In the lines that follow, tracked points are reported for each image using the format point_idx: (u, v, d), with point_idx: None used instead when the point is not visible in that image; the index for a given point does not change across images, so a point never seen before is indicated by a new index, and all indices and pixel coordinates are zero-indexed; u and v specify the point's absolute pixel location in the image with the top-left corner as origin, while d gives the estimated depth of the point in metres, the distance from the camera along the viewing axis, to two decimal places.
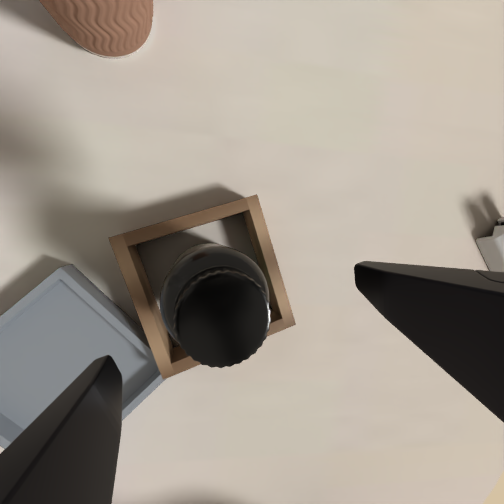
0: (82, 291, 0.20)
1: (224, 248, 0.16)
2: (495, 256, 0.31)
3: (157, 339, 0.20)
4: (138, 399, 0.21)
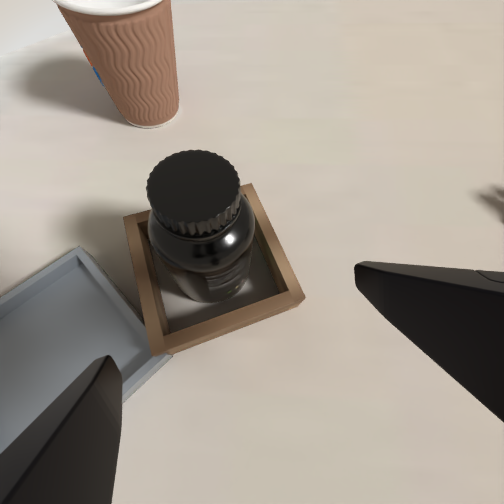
0: (92, 266, 0.21)
1: None
2: None
3: (152, 307, 0.19)
4: None
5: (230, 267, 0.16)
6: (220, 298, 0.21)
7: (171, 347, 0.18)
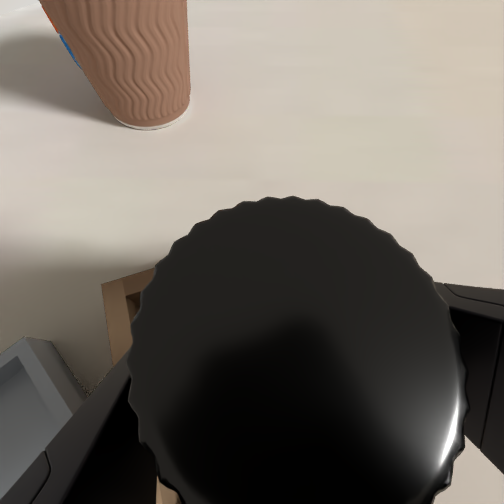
0: (43, 379, 0.12)
1: None
2: None
3: None
4: None
5: None
6: None
7: None
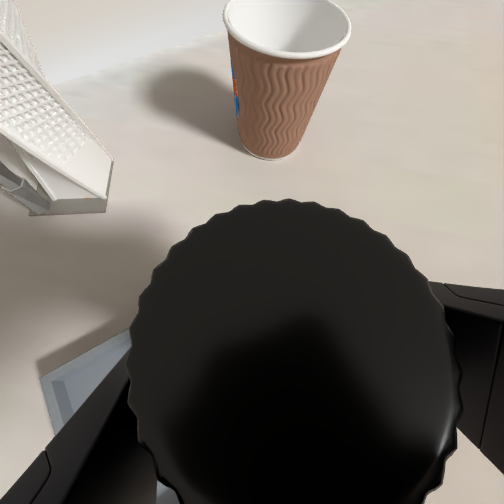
0: None
1: None
2: None
3: None
4: None
5: None
6: None
7: None
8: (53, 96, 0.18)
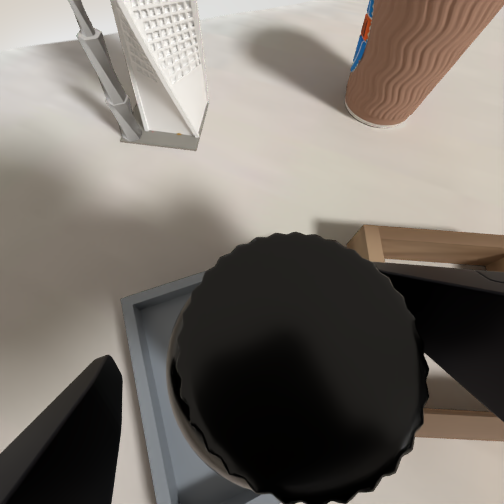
0: None
1: None
2: None
3: None
4: None
5: None
6: None
7: (424, 435, 0.12)
8: None
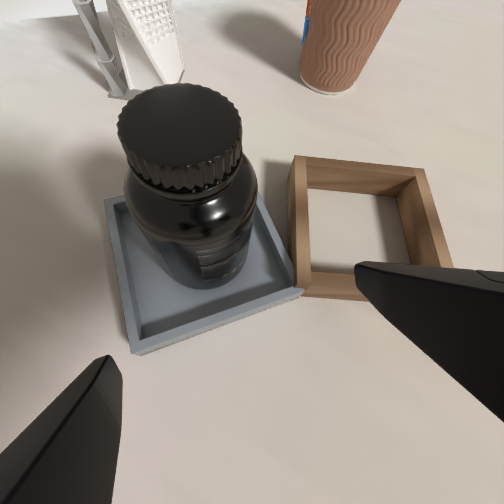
0: None
1: None
2: None
3: (305, 242, 0.19)
4: (257, 302, 0.18)
5: (227, 239, 0.13)
6: (214, 283, 0.18)
7: (316, 284, 0.18)
8: None
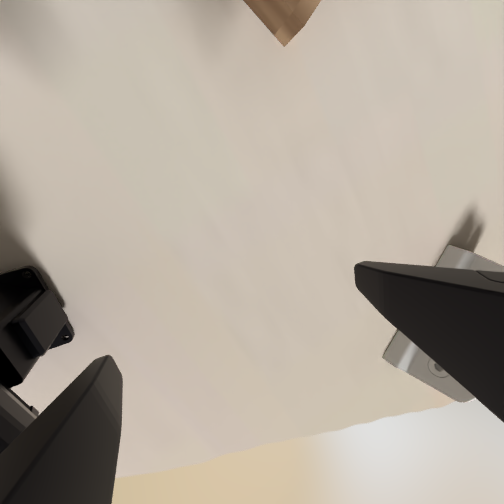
0: None
1: None
2: (448, 267, 0.29)
3: None
4: None
5: None
6: None
7: None
8: None
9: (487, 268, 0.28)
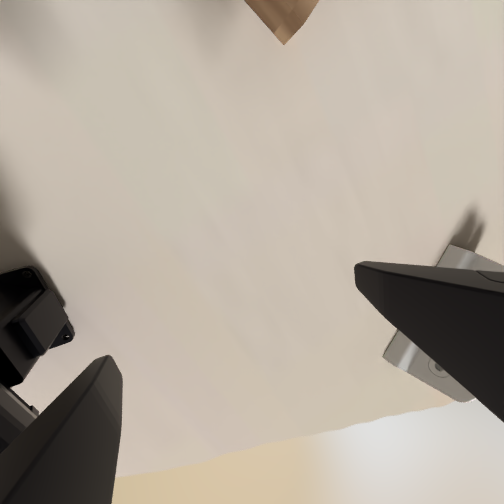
0: None
1: None
2: (449, 267, 0.29)
3: None
4: None
5: None
6: None
7: None
8: None
9: (488, 268, 0.28)
